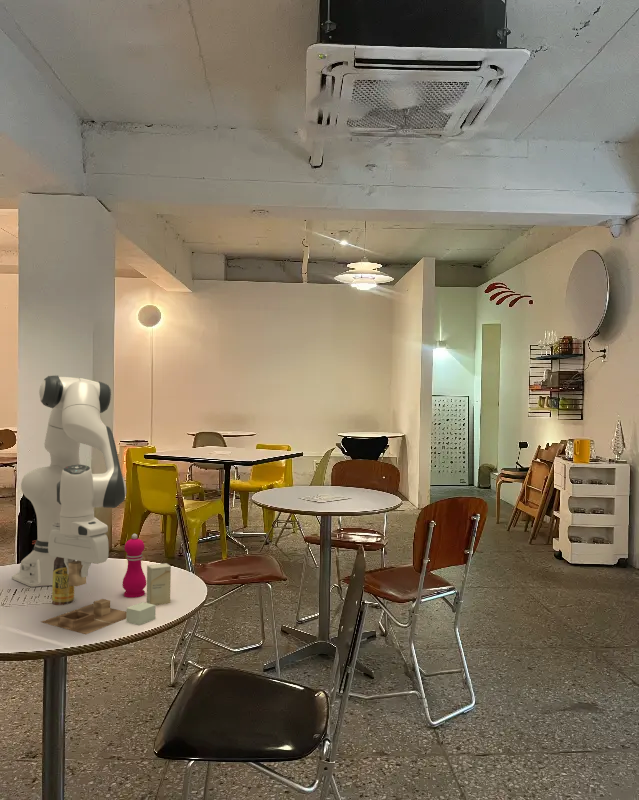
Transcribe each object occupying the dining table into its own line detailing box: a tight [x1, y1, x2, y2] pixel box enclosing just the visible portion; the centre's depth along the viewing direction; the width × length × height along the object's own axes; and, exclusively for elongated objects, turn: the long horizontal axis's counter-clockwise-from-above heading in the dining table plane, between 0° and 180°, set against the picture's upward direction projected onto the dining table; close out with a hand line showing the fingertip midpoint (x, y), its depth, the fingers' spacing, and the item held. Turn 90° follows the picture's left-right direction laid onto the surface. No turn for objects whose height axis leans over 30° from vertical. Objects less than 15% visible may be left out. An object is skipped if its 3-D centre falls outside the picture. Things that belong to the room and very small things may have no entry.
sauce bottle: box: [51, 557, 76, 606], centre depth 199 cm, size 6×6×20 cm
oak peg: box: [68, 560, 87, 587], centre depth 181 cm, size 3×3×6 cm
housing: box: [125, 601, 157, 626], centre depth 183 cm, size 5×6×5 cm
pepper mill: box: [121, 533, 147, 599], centre depth 206 cm, size 7×7×20 cm
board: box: [41, 598, 126, 635], centre depth 185 cm, size 18×18×4 cm
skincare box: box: [146, 562, 172, 606], centre depth 199 cm, size 6×4×12 cm
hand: (77, 575), depth 181 cm, fingers closed on oak peg, 3 cm apart
